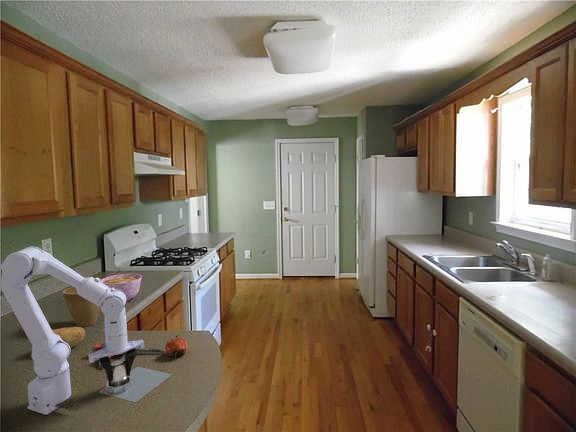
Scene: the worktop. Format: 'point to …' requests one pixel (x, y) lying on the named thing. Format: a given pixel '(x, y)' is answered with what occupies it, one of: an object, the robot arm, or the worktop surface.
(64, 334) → the potato
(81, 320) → the plant pot
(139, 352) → the valve
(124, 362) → the duct pipe
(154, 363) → the worktop surface
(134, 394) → the mounting plate
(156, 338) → the worktop surface
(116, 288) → the bowl of food
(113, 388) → the collar
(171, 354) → the pomegranate
